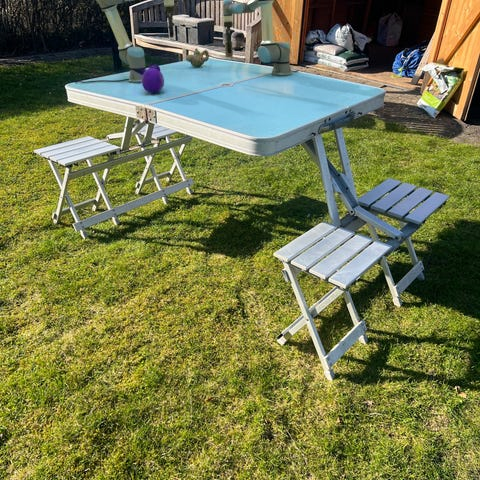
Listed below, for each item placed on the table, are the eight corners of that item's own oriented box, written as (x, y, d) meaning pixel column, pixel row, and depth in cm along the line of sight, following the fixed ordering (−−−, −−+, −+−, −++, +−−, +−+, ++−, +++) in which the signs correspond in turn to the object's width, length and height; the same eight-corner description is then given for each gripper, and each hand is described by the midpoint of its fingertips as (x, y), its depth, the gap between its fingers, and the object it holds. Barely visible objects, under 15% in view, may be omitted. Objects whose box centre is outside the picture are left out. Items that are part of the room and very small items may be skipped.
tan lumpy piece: (189, 69, 379) (188, 50, 372) (184, 67, 388) (182, 48, 380) (212, 66, 388) (211, 47, 381) (206, 64, 397) (205, 46, 389)
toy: (156, 85, 322) (164, 98, 301) (131, 81, 314) (137, 93, 294) (160, 63, 314) (168, 74, 293) (135, 58, 306) (141, 69, 286)
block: (232, 56, 379) (231, 41, 373) (232, 56, 374) (232, 41, 368) (225, 56, 378) (224, 41, 372) (225, 57, 374) (225, 42, 368)
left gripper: (164, 5, 353) (167, 34, 364) (163, 6, 331) (166, 38, 342) (174, 4, 353) (176, 34, 364) (173, 6, 332) (176, 37, 343)
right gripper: (222, 20, 370) (223, 51, 382) (224, 22, 355) (225, 54, 366) (231, 20, 371) (232, 50, 383) (233, 22, 355) (234, 53, 367)
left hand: (171, 36), depth 353 cm, fingers open, 13 cm apart
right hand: (229, 52), depth 375 cm, fingers closed on block, 5 cm apart
